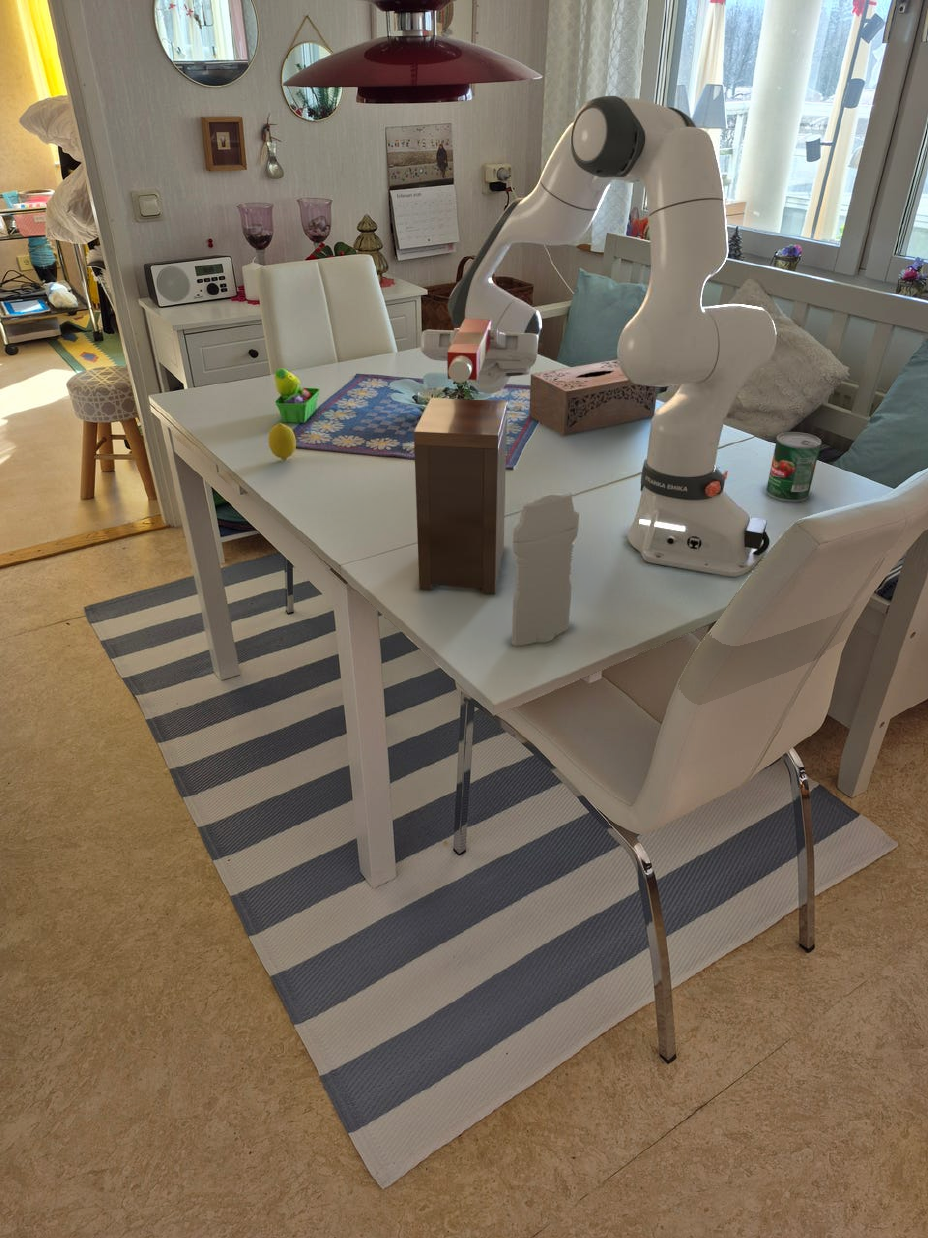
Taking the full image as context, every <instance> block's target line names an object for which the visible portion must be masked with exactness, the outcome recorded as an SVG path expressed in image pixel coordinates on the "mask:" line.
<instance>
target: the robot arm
mask: <svg viewBox="0 0 928 1238" xmlns="http://www.w3.org/2000/svg"><path fill="white" fill-rule="evenodd" d="M722 177H723V176H722V172H721V166H720V162H719V158H718V154H717V150H716V147H715V144H714V140H713V139H712V136H711V135H710V134H709V133H708V132H707V131H706V130H704V129H702V128H699V127H697V126H696V123H695V122H694V121H693V120H692V118H691V117H690V115H687V114H686V113H685V112H683V111H682V110H680V109H677V108H675V107H667V106H664V105H661V104H659V103H655V102H651V101H649V100H647V99H642V98H636V97H635V98H634V97H619V96H618V95H603V96H598V97H594V98H592V99H590V100H588V101H587V102H585V103H584V104H583V105H582V106H581V108H579V111H578V112H577V113H576V115H575V117H574V119H573V122H572V123H570V124H569V126H568V127H567V128H566V129H565V131H564V132H563V134H562V135H561V137H560V138H559V140H558V142H557V143H556V145H555V147H554V149H553V150H552V152H551V154H550V156H549V158H548V160H547V163H546V165H545V167H544V169H543V171H542V172H541V175H540V178H539V180H538V183H537V184H536V186H535V188H534V189H533V190H532V192H530V193H529V194H528V195H527V196H526V197H517V198H516V199H514V200H513V201H511V202H510V204H509V205H508V206H507V207H506V208H505V209H504V211H503V212H502V214H501V215H500V216H499V217H498V219H497V221H496V223H495V224H494V225H493V227H492V229H491V230H490V232H489V234H488V235H487V237H486V238H485V240H484V241H483V244H482V245H481V247H480V248H479V250H478V252H477V253H476V255H475V257H474V259H473V260H472V262H471V264H470V265H469V267H468V268H467V270H466V272H465V273H464V274H463V276H462V278H461V279H460V280H459V281H458V283H457V284H456V285H455V287H454V288H453V289H452V291H451V293H450V295H449V298H448V301H447V311H448V314H449V317H450V319H451V322H452V324H453V325H454V326H456V327H454V329H453V330H447V329H446V330H444V329H441V330H440V329H436V330H435V329H425V330H423V331H422V332H421V335H420V352H421V353H422V354H423V355H424V356H426V357H427V358H428V359H430V360H433V361H438V362H439V361H440V362H442V361H443V362H447V352H448V350H449V348H450V346H451V344H452V342H453V340H454V338H455V336H456V334H457V332H458V331H459V329H460V327H461V325H462V323H463V321H464V319H490V320H491V329H489V337H488V339H489V342H490V343H491V344H490V346H489V349H488V351H487V354H486V357H485V360H484V362H483V365H482V368H481V370H480V372H479V375H478V377H477V380H467V381H468V383H469V384H470V385H471V387H472V388H474V389H475V390H476V391H478V392H480V393H483V394H495V393H498V392H500V391H501V390H503V389H504V388H505V387H506V385H507V384H508V382H509V381H510V378H511V377H520V376H527V375H529V374H530V371H531V368H532V367H533V366H534V365H535V363H536V361H537V358H538V348H539V342H540V339H541V336H542V332H543V324H542V323H543V322H542V317H541V313H540V311H539V310H537V309H536V308H535V307H533V306H532V305H530V304H528V303H527V302H525V301H523V300H522V299H520V298H519V297H516V296H514V295H513V294H511V293H509V292H508V291H506V290H504V289H503V288H501V287H500V286H498V285H497V284H496V283H494V281H493V278H492V277H493V275H494V273H495V271H496V270H497V269H498V266H499V265H500V264H501V262H502V261H503V259H504V257H505V256H506V254H507V253H508V251H509V249H510V248H511V246H512V245H513V244H517V243H528V244H529V243H530V244H537V245H543V246H563V245H567V244H571V243H573V242H575V241H577V240H579V239H581V237H583V236H584V235H585V234H586V233H587V231H588V230H589V228H590V226H591V225H592V223H593V221H594V220H595V218H596V216H597V214H598V211H599V209H600V207H601V205H602V202H603V200H604V198H605V196H606V195H607V191H608V189H609V188H610V186H611V184H612V183H613V182H614V181H615V180H616V181H617V180H618V181H623V182H625V183H628V184H629V183H630V184H642V185H643V187H644V190H645V195H646V203H647V205H646V206H647V207H646V208H647V221H648V230H649V231H648V232H649V247H650V276H649V282H648V286H647V290H646V293H645V296H644V299H643V301H642V303H641V305H640V307H639V309H638V310H637V311H636V313H635V314H634V316H632V318H631V319H630V320H629V321H628V322H627V323H626V324H625V326H624V327H623V328H622V331H621V333H620V335H619V339H618V342H617V348H616V355H617V356H616V357H617V359H618V362H619V365H620V368H621V370H622V372H623V373H624V375H625V376H626V377H627V379H628V380H629V381H631V382H632V383H634V384H639V385H647V386H658V388H662V387H663V388H664V387H670V386H671V387H672V386H679V385H680V386H679V388H678V389H677V391H676V392H675V393H674V395H672V397H671V398H669V399H668V400H667V401H666V402H664V403H663V404H662V405H661V406H659V407H658V408H657V410H655V413H654V416H653V417H651V421H650V429H649V437H648V444H647V453H646V455H647V456H646V458H645V459H644V461H643V466H642V469H641V475H640V492H641V494H640V497H639V503H638V506H637V509H636V513H635V516H634V520H633V522H632V525H631V527H630V529H629V531H628V533H627V540H628V542H629V544H630V545H631V546H632V547H633V548H634V549H635V550H637V551H638V552H639V553H640V555H641V558H642V559H643V560H644V561H645V562H647V563H650V564H656V565H661V566H667V567H673V568H680V569H685V570H689V571H695V572H702V573H706V574H707V573H708V574H713V575H719V576H725V577H731V578H735V577H736V578H737V577H740V576H743V575H744V574H747V573H749V572H751V571H752V570H754V568H755V567H756V566H757V565H758V564H759V562H760V561H761V558H762V557H763V553H765V552H766V551H767V550H768V548H769V547H770V543H771V540H770V537H769V535H768V533H767V531H766V529H767V524H768V519H763V518H756V517H750V515H749V514H748V512H746V511H745V509H743V508H742V506H740V504H738V503H737V502H736V501H735V500H734V499H733V498H732V497H731V496H730V495H729V494H728V493H727V492H726V491H725V490H724V487H725V482H726V480H727V477H728V472H729V471H728V470H725V471H724V472H723V473H722V472H721V471H720V469H719V468H718V466H717V465H716V461H717V456H718V451H719V445H720V441H721V437H722V433H723V428H724V424H725V421H726V419H727V417H728V414H729V412H730V410H731V408H732V406H733V404H734V403H735V401H736V399H737V397H738V396H739V394H740V393H741V391H742V390H743V388H744V387H745V386H746V384H747V383H748V382H749V381H750V380H751V378H753V376H755V375H756V374H757V373H758V372H759V371H761V370H762V369H763V368H764V367H765V366H766V365H767V364H768V363H769V362H770V361H771V359H772V357H773V355H774V352H775V349H776V345H777V330H776V325H775V323H774V320H773V318H772V317H771V315H770V314H769V312H768V311H767V310H765V309H764V308H762V307H758V306H753V305H746V304H739V303H730V304H719V305H708V306H702V295H703V290H704V286H705V284H706V282H707V281H708V280H709V279H711V278H712V277H713V276H714V275H716V274H717V273H718V272H719V271H720V270H721V269H722V267H723V266H724V265H725V262H726V260H727V258H728V254H729V242H728V229H727V217H726V203H725V193H724V191H725V190H724V185H723V178H722Z"/></svg>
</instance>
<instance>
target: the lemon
mask: <svg viewBox="0 0 928 1238" xmlns="http://www.w3.org/2000/svg"><path fill="white" fill-rule="evenodd" d="M268 446H269V449H270V451H271V453H272V454H273V455H274V457H277V458H279V459H281V460H283V461H286V460H287V459H288V458H290V457H291V456H292V455H293V454H294V453H295V451H296V449H297V448H296V447H297V440H296V436H295V433H294V431H293V429H292V428H291V427H289V426H288V425H287V424H283V423H282V422H279V423H278V424H276V425H274V426H273V427H272V428H271V429H270V431H269V434H268Z"/></svg>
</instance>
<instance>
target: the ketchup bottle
mask: <svg viewBox="0 0 928 1238" xmlns="http://www.w3.org/2000/svg"><path fill="white" fill-rule="evenodd" d="M459 328H460V329H459V331H458V332H457V334H456V336H455V338H454V340H453V342H452V344H451V346H450V348H449V350H448V352H447V361H446V363H447V364H446V365H447V366H446V367H447V368H446V369H447V380H451V381H453V382H454V383H457V384H463V383H465V382H467V381H468V380H477V377H478V375H479V372H480V370H481V368H482V365H483V362H484V360H485V357H486V354H487V351H488V349H489V346H490V344H491V343H490V342H489V339H488V337H489V329H491V320H490V319H464V321H463V323H462V325H461V327H459Z"/></svg>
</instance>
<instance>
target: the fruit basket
mask: <svg viewBox="0 0 928 1238" xmlns="http://www.w3.org/2000/svg"><path fill="white" fill-rule="evenodd" d="M274 373H275V374H274V380H275V387H276V391H277V392H278V394H279V397H278V398H277V399H276V400H275V401H274V403H275V406H276V407H277V409H278V411H279V413H280V416H281V418H282V421H283V422H284V423H298V424H299V423H301V424H304V423H306V422H307V420H309V419H310V417H311V416H312V415H313V414H314V413H315V412H316V411H317V405H318V398H319V394H320V390H321V389H320V388H317V387H302V386H301V387H300V383H301V381H300V380H299V378H298V377H297V376H296V375H294V374H293V373H291V372H290V371H288V370H287V369H285V368H283V367H281V368H277V369H275V372H274Z"/></svg>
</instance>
